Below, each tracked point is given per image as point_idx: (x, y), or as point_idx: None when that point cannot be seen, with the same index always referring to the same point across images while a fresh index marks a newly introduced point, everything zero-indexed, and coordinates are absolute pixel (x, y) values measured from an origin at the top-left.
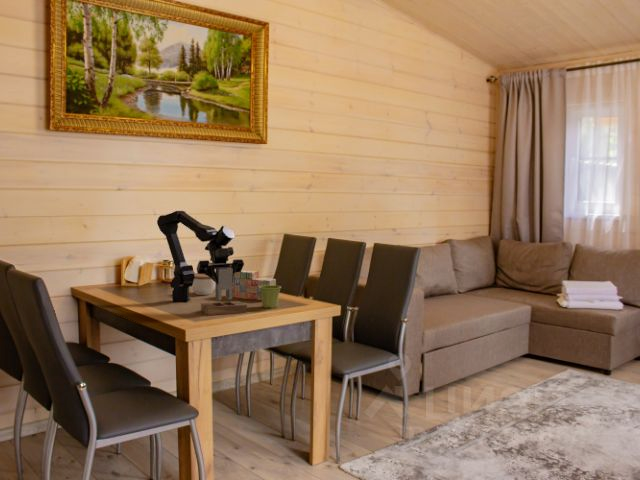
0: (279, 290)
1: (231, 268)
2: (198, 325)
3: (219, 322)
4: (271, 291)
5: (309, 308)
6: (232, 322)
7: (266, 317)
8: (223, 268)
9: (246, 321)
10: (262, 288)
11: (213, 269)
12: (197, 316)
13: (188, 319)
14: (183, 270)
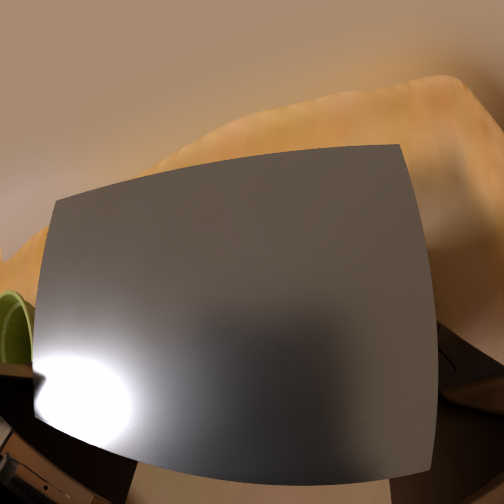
0: (3, 316)
1: (71, 197)
2: (437, 106)
3: (367, 118)
4: (25, 301)
5: (17, 271)
6: (319, 108)
7: (170, 160)
8: (231, 213)
9: (265, 113)
10: (32, 327)
11: (487, 393)
12: (450, 252)
13: (481, 202)
14: None
